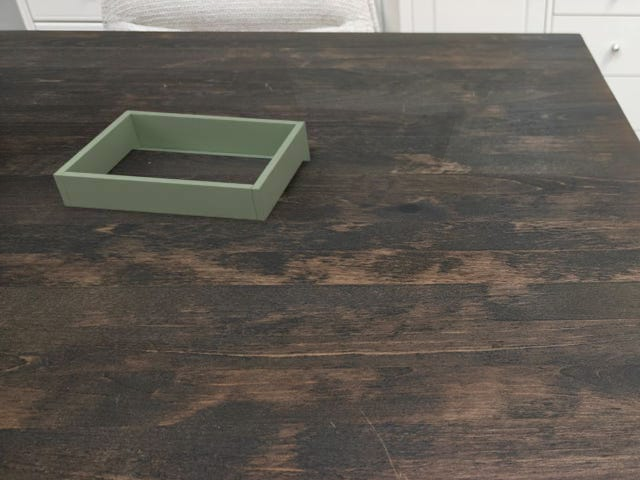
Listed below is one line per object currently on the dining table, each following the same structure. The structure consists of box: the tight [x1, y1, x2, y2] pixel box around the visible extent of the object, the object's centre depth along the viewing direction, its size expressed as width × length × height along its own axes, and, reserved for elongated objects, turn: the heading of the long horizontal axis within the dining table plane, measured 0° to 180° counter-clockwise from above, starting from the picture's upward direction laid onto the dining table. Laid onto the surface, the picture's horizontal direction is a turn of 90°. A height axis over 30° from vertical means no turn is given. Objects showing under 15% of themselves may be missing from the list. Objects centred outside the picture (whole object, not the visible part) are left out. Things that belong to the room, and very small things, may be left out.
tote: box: [52, 110, 311, 222], centre depth 79 cm, size 21×16×5 cm
